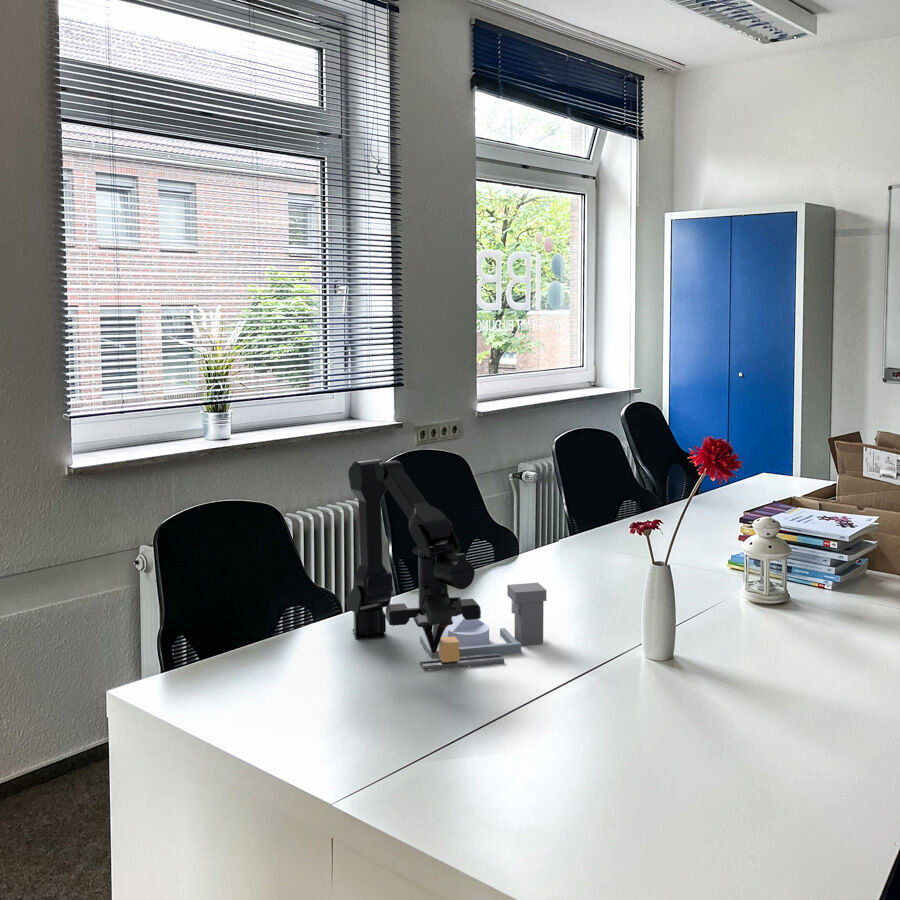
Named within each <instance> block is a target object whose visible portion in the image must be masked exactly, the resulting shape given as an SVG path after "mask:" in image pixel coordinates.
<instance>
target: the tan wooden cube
mask: <svg viewBox="0 0 900 900" xmlns="http://www.w3.org/2000/svg"><path fill="white" fill-rule="evenodd" d="M438 649H439V657H440V659H441V661H442V662H453V661H459V641H458V640H457V638H456V637H448V636H446V637H441V639H440V642H439V645H438Z"/></svg>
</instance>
